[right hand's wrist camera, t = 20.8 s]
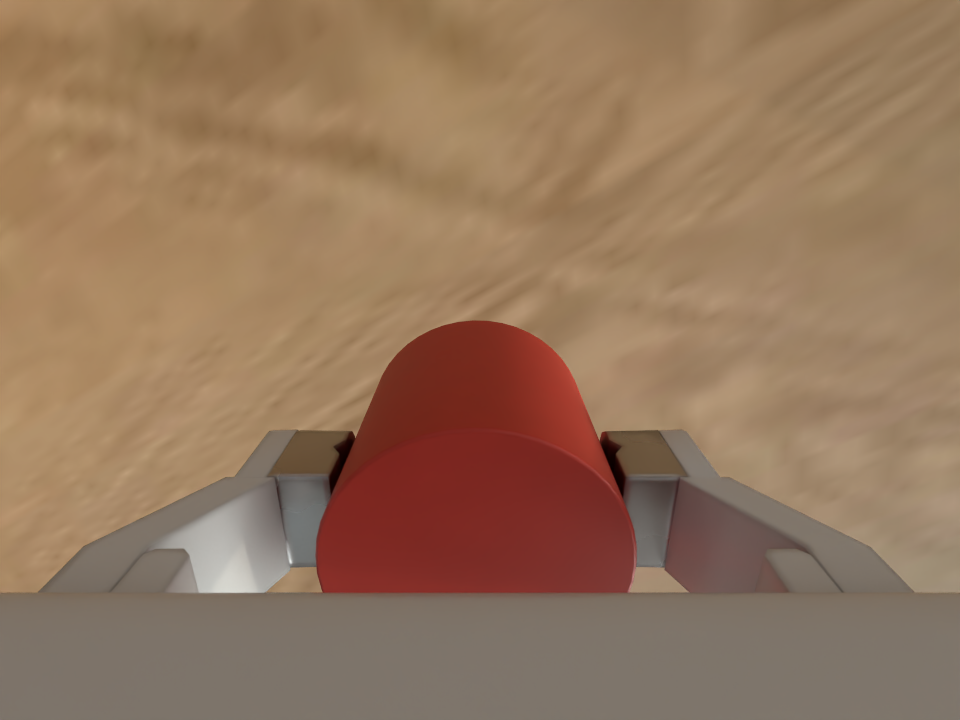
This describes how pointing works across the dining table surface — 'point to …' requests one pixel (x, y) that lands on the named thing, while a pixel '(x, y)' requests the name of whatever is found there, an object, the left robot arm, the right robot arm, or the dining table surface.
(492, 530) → the can
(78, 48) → the dining table surface
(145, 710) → the right robot arm
